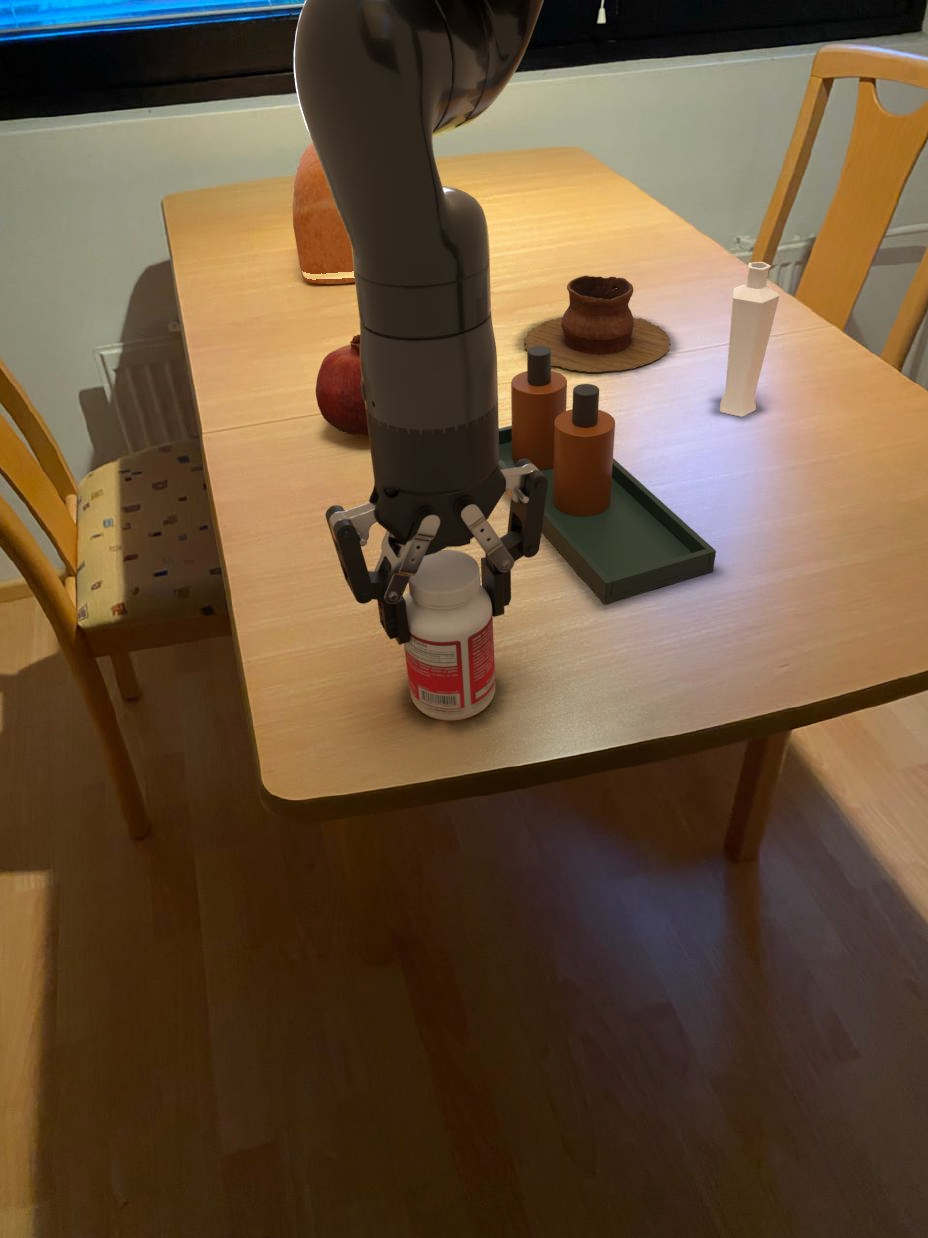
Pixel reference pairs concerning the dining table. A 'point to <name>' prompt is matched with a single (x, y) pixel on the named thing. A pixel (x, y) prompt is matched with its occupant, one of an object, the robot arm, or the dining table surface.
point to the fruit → (342, 390)
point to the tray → (622, 537)
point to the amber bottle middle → (583, 455)
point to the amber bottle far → (536, 408)
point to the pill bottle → (449, 637)
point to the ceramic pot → (599, 329)
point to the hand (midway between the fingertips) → (447, 622)
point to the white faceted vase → (748, 339)
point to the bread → (319, 223)
